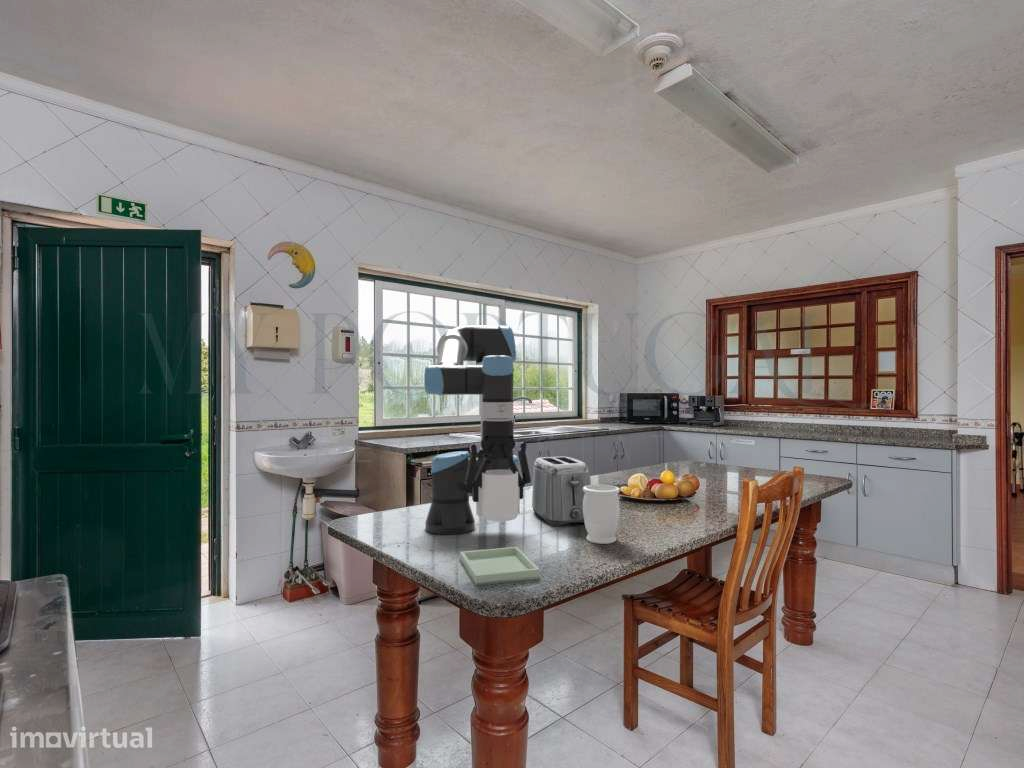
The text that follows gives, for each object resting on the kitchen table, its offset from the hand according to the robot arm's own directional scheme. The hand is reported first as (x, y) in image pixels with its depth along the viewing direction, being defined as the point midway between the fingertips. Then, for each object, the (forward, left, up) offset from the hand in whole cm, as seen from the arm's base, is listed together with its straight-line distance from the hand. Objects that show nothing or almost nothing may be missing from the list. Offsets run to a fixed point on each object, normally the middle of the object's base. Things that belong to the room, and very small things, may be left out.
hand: (498, 513), depth 130 cm
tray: (0, 0, -13) cm, 13 cm away
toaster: (-44, +34, -14) cm, 57 cm away
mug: (0, 0, -1) cm, 1 cm away
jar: (-15, +35, -14) cm, 40 cm away
